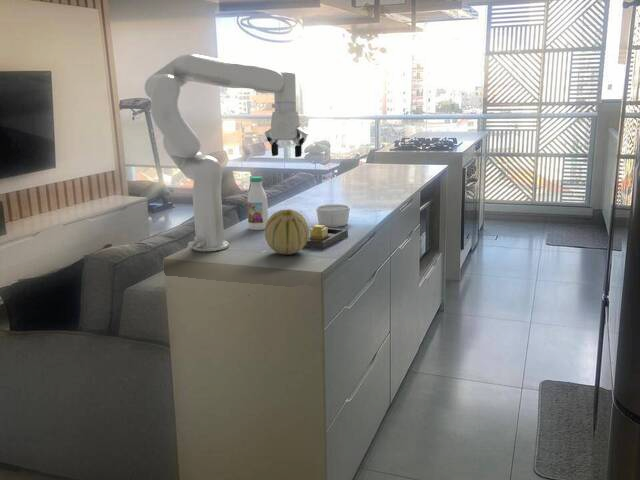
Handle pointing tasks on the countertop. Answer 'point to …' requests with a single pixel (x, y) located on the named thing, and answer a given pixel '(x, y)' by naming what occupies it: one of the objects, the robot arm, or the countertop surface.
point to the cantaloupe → (286, 232)
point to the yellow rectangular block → (319, 232)
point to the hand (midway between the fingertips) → (286, 156)
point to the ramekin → (333, 215)
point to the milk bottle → (257, 205)
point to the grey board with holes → (328, 239)
